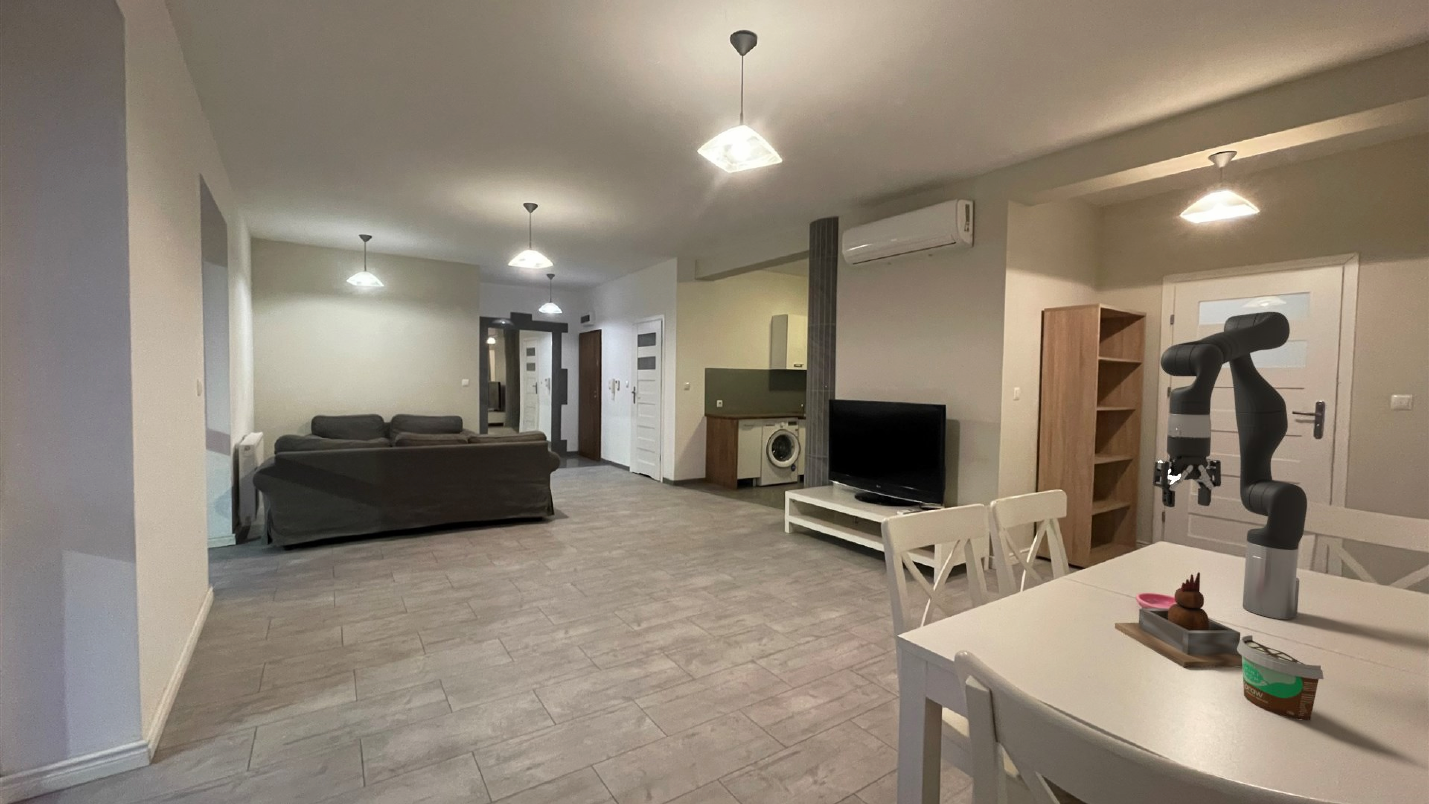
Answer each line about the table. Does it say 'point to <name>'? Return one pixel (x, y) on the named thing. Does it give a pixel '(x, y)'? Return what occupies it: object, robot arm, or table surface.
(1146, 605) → the saucer
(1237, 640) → the collar board
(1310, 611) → the table surface
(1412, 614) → the table surface
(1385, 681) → the table surface
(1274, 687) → the food container
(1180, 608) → the wooden figurine
